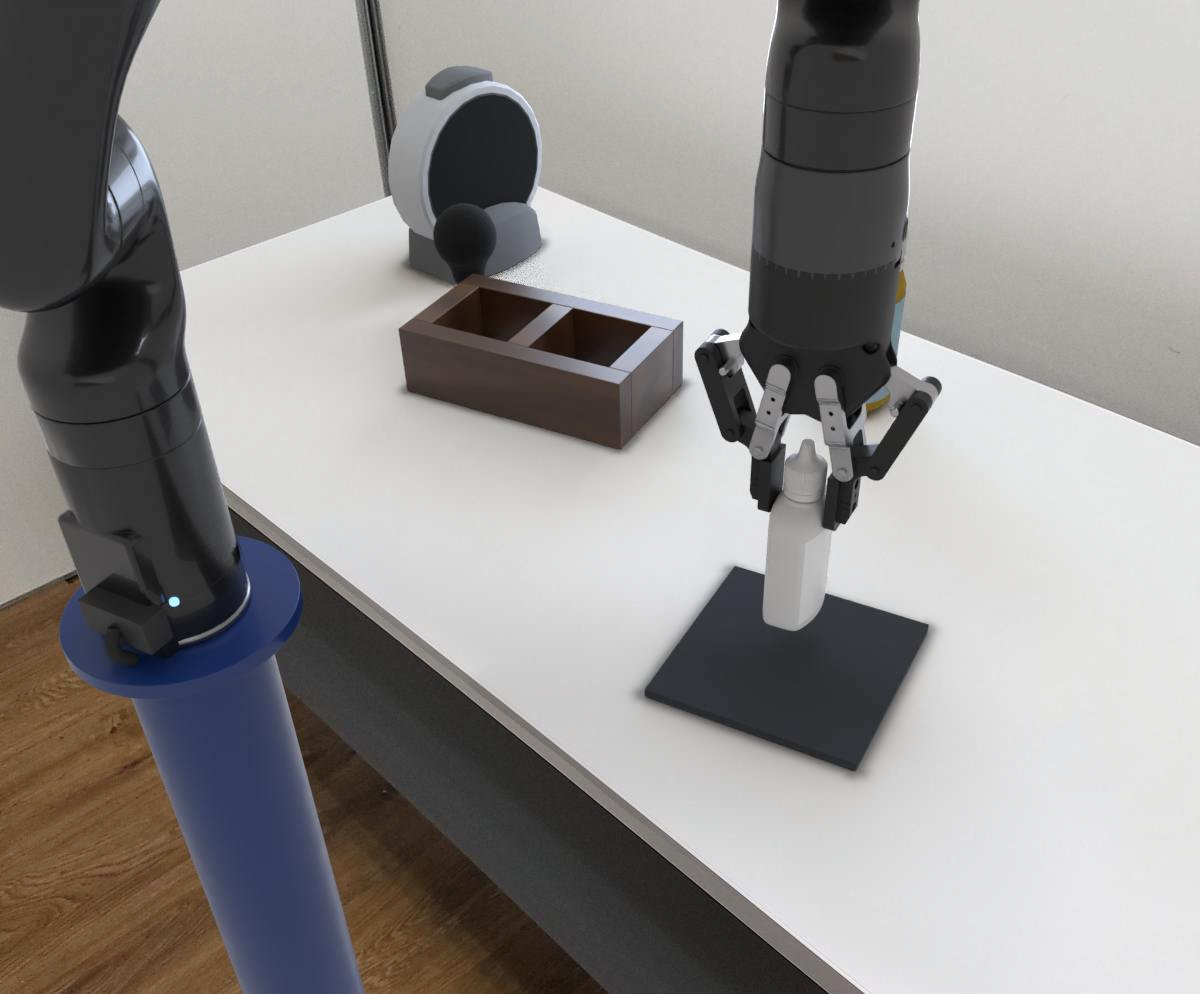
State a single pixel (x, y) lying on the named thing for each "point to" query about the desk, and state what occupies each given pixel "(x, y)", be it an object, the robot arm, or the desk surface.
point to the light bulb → (465, 239)
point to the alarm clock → (467, 165)
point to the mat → (790, 670)
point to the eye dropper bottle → (797, 543)
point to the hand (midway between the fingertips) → (802, 512)
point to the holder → (544, 358)
